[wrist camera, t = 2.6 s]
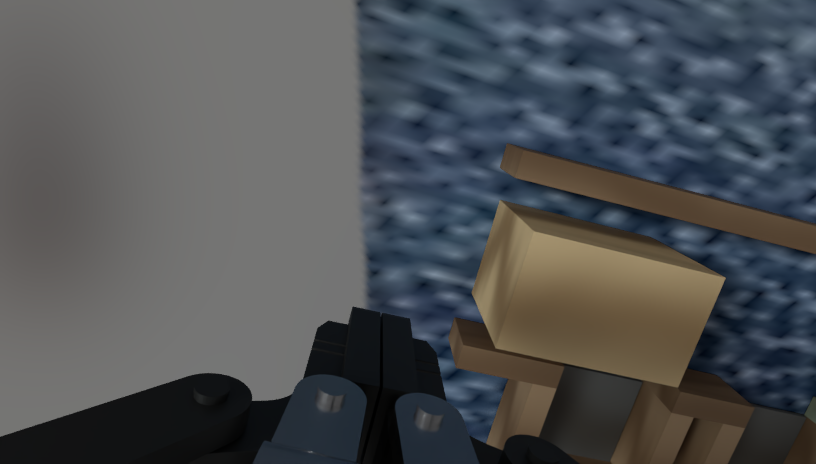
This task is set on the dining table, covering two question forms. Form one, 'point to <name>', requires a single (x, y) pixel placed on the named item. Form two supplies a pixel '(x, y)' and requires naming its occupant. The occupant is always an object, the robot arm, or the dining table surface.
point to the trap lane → (628, 397)
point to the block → (592, 295)
